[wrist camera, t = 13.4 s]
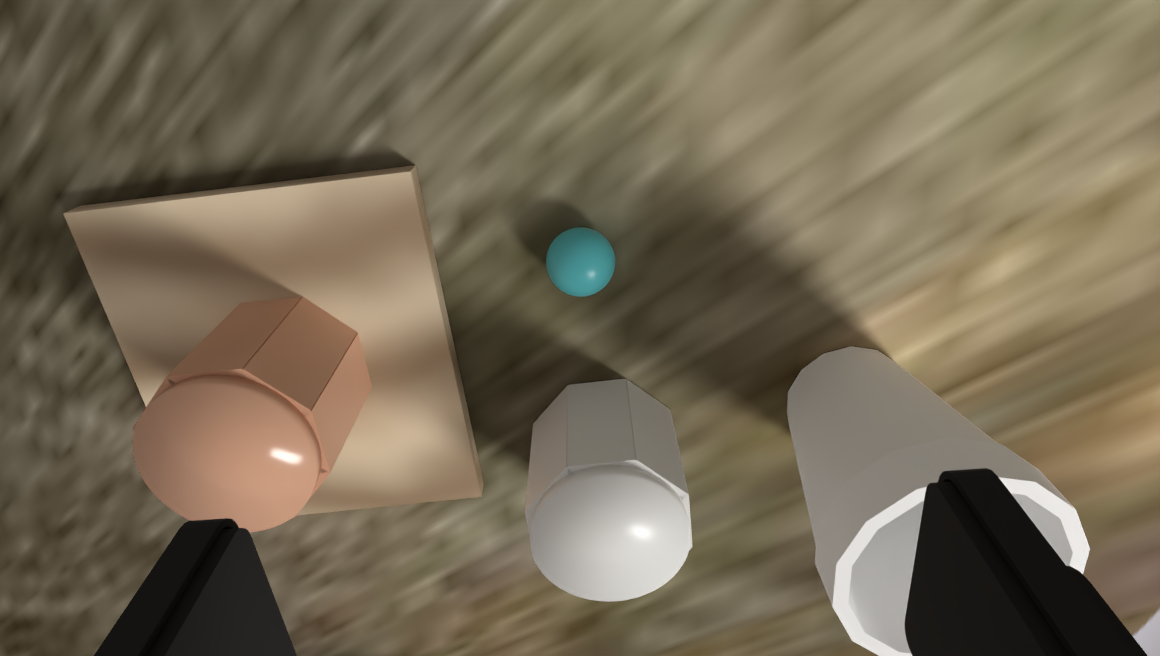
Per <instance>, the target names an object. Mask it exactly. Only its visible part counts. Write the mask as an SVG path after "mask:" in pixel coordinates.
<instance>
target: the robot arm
mask: <svg viewBox="0 0 1160 656" xmlns="http://www.w3.org/2000/svg"><path fill="white" fill-rule="evenodd" d="M905 634H906V640H907V643H908V646H909V649H910V652H911V654H912V656H1147V654H1146V653H1145V652H1144V651H1143V649H1142V648H1141V647H1140V645H1139V644H1138V643H1137V642H1136V640H1135V639H1134V638H1133V637H1132V635H1131V634H1130V633H1129V631H1128V630H1127V629H1126V628H1125V626H1124V625H1123V624H1122V622H1121V621H1120V620H1119V619H1118V617H1117V616H1116V615H1115V614H1114V612H1113V611H1112V610H1111V608H1110V607H1109V606H1108V605H1107V603H1106V602H1105V601H1104V599H1103V598H1102V597H1101V596H1100V594H1099V593H1098V592H1097V591H1096V589H1095V588H1094V587H1093V585H1092V584H1091V583H1090V582H1089V581H1088V579H1087V578H1086V577H1085V576H1084V575H1083V574H1082V573H1081V572H1080V571H1078V570H1076V569H1074V568H1073V567H1071V566H1066V565H1065V563H1064V562H1063V561H1062V560H1061V558H1060V557H1059V556H1058V554H1057V553H1056V552H1055V550H1054V549H1053V548H1052V546H1051V545H1050V544H1049V543H1048V541H1047V540H1046V539H1045V537H1044V536H1043V535H1042V533H1041V532H1040V531H1039V529H1038V528H1037V527H1036V526H1035V524H1034V523H1033V522H1032V520H1031V519H1030V518H1029V516H1028V515H1027V514H1026V512H1025V511H1024V510H1023V509H1022V507H1021V506H1020V505H1019V503H1018V502H1017V501H1016V499H1015V498H1014V497H1013V495H1012V494H1011V493H1010V492H1009V490H1008V489H1007V488H1006V486H1005V485H1004V484H1003V482H1002V481H1001V480H1000V478H999V477H998V476H997V475H996V474H995V473H994V472H993V471H992V470H990V469H988V468H981V469H966V470H951V471H944V472H942V473H941V475H940V476H939V479H938V482H936V483H929V484H928V486H927V488H926V492H925V498H924V504H923V511H922V517H921V523H920V529H919V535H918V541H917V548H916V554H915V560H914V566H913V572H912V579H911V585H910V591H909V597H908V603H907V609H906V616H905ZM94 656H296V653H295V650H294V647H293V645H292V642H291V640H290V637H289V634H288V632H287V629H286V626H285V624H284V621H283V619H282V616H281V613H280V611H279V608H278V606H277V603H276V600H275V598H274V595H273V592H272V590H271V587H270V585H269V582H268V579H267V577H266V574H265V571H264V569H263V566H262V564H261V561H260V558H259V556H258V553H257V550H256V548H255V545H254V543H253V540H252V537H251V535H250V533H249V531H248V530H247V529H245V528H239V527H238V525H237V523H236V522H235V521H234V520H233V519H229V518H224V519H209V520H194V521H188V522H186V523H184V524H183V526H182V527H181V528H180V529H179V530H178V532H177V533H176V535H175V536H174V538H173V539H172V541H171V542H170V544H169V545H168V547H167V548H166V550H165V551H164V553H163V554H162V556H161V557H160V558H159V560H158V561H157V563H156V564H155V566H154V567H153V569H152V570H151V572H150V573H149V575H148V576H147V578H146V579H145V581H144V582H143V584H142V585H141V587H140V588H139V590H138V591H137V593H136V594H135V596H134V597H133V599H132V600H131V601H130V603H129V604H128V606H127V607H126V609H125V610H124V612H123V613H122V615H121V616H120V618H119V619H118V621H117V622H116V624H115V625H114V627H113V628H112V630H111V631H110V633H109V634H108V636H107V637H106V639H105V640H104V642H103V643H102V644H101V646H100V647H99V649H98V650H97V652H96V653H95V655H94Z"/></svg>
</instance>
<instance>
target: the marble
mask: <svg viewBox="0 0 1160 656" xmlns="http://www.w3.org/2000/svg"><path fill="white" fill-rule="evenodd" d="M546 268H547V272H548V275H549V277H550V279H551V281H552V282H553V283H554V285H555V286H556V287H557V288H559V289H560V290H561V291H563V292H564V293H566V294H569V295H572V296H578V297H584V296H589V295H593V294H595V293H597V292H599V291H600V290H601V289H603V288H604V287H605V286H606V285H607V284H608V282H609V281H610V279H611V278H612V275H613V273H614V269H615V255H614V251H613V248H612V246H611V244H610V243H609V241H608V240H607V239H606V238H605V237H604V236H603V235H602V234H600V233H599V232H597V231H595V230H593V229H590V228H585V227H576V228H571V229H568V230H566V231H564V232H562V233H561V234H559V235H558V236H557V237H556V238H555V239H554V240H553V242H552V243H551V245H550V247H549V249H548V252H547V256H546Z"/></svg>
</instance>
